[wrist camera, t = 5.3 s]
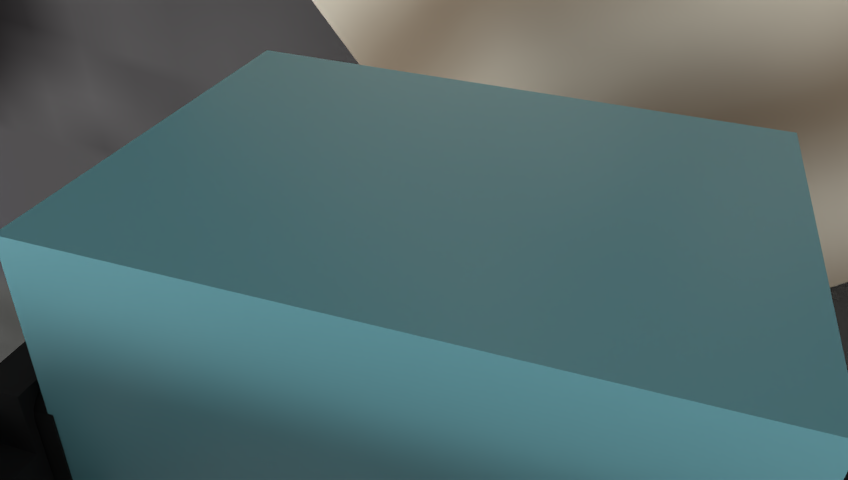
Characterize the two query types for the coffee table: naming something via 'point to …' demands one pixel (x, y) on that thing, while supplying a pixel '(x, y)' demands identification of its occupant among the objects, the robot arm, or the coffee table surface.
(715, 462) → the teal drawer cube
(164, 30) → the coffee table surface
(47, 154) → the coffee table surface
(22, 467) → the robot arm
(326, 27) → the coffee table surface
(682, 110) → the hub board
